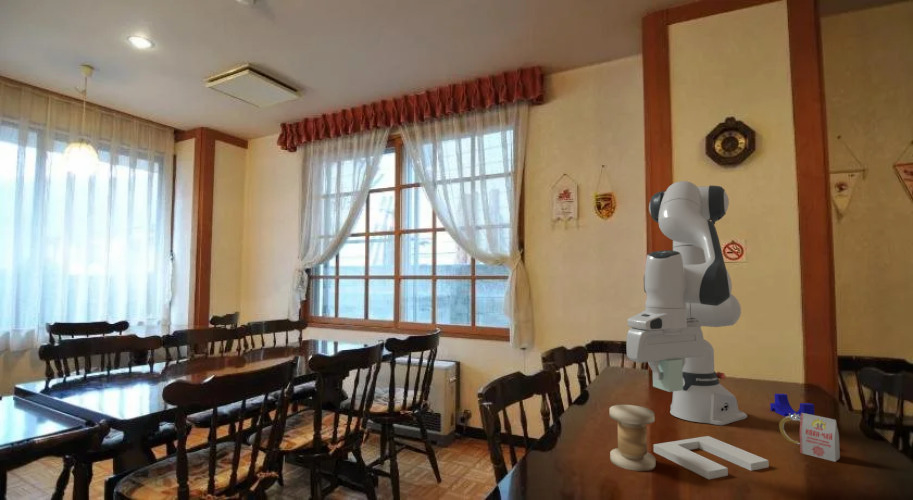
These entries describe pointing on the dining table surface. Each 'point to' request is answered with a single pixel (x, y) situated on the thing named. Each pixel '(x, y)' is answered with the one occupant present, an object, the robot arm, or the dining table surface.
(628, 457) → the bobbin
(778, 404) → the cable clip
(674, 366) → the pale green block
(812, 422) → the tea bag
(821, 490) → the dining table surface
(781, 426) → the ring
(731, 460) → the u-shaped core
